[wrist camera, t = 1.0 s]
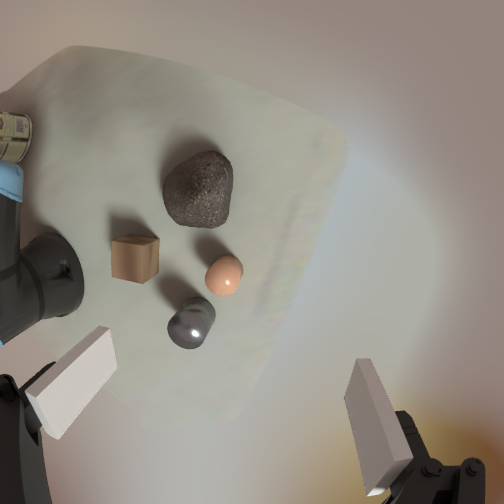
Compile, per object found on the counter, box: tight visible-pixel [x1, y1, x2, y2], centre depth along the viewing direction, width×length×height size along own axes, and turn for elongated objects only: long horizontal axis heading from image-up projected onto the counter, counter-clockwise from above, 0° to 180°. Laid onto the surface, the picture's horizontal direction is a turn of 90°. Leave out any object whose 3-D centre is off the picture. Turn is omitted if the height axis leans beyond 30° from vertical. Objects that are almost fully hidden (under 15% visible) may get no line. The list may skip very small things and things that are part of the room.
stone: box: [163, 151, 233, 229], centre depth 33 cm, size 10×8×10 cm
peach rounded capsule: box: [205, 255, 243, 296], centre depth 35 cm, size 4×4×4 cm
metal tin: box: [167, 297, 216, 349], centre depth 36 cm, size 5×5×6 cm
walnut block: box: [111, 235, 160, 284], centre depth 36 cm, size 5×5×5 cm
